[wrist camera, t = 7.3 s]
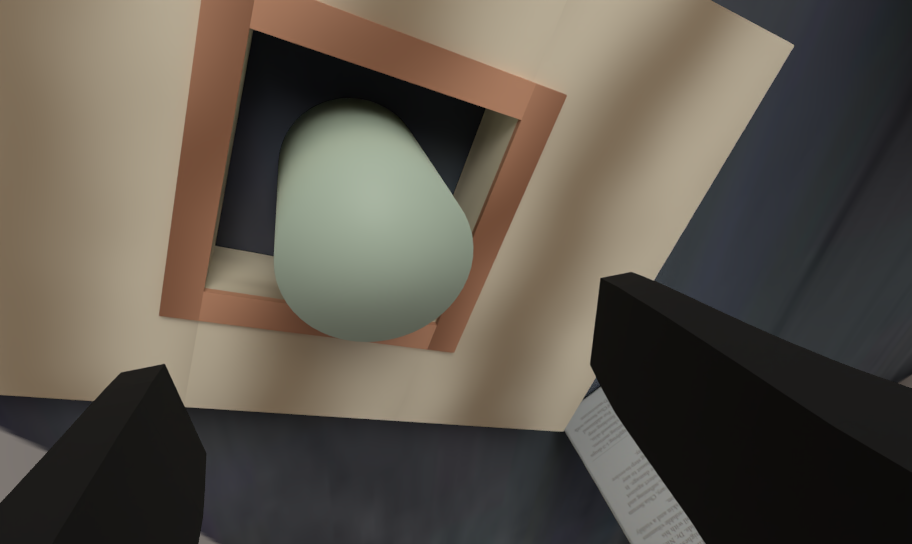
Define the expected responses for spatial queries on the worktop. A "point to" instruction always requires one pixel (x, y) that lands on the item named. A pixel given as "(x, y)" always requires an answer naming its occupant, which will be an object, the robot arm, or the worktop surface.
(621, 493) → the skincare box
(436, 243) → the green peg
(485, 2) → the hole plate
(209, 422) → the worktop surface
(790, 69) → the worktop surface
